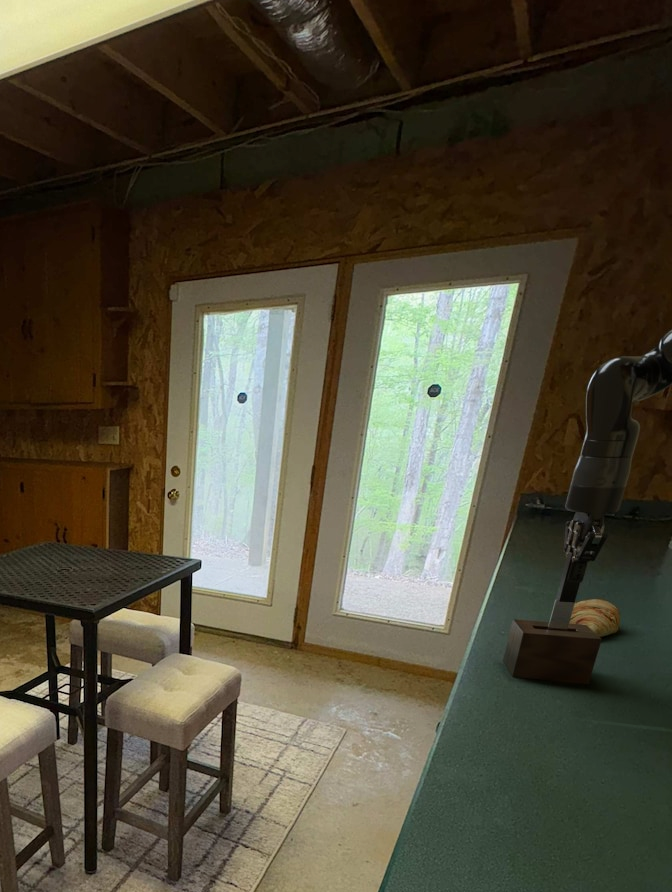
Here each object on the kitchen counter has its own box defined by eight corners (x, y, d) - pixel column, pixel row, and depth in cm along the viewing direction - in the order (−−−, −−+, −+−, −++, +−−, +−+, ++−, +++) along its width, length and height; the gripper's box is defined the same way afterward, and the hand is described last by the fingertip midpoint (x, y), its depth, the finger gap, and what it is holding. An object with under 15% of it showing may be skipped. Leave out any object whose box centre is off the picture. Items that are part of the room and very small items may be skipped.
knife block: (573, 667, 123) (586, 624, 120) (588, 684, 116) (602, 639, 112) (502, 661, 127) (512, 619, 124) (512, 676, 120) (523, 632, 117)
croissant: (599, 658, 135) (631, 631, 130) (554, 630, 139) (583, 603, 134) (601, 629, 150) (630, 604, 145) (560, 605, 154) (587, 579, 149)
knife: (558, 654, 120) (586, 552, 113) (561, 658, 119) (590, 554, 111) (539, 652, 121) (566, 551, 114) (542, 656, 120) (570, 553, 112)
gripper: (641, 488, 101) (610, 591, 107) (610, 479, 113) (583, 572, 119) (585, 487, 104) (558, 588, 110) (560, 478, 115) (537, 570, 122)
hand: (571, 579), depth 114 cm, fingers closed on knife, 2 cm apart
